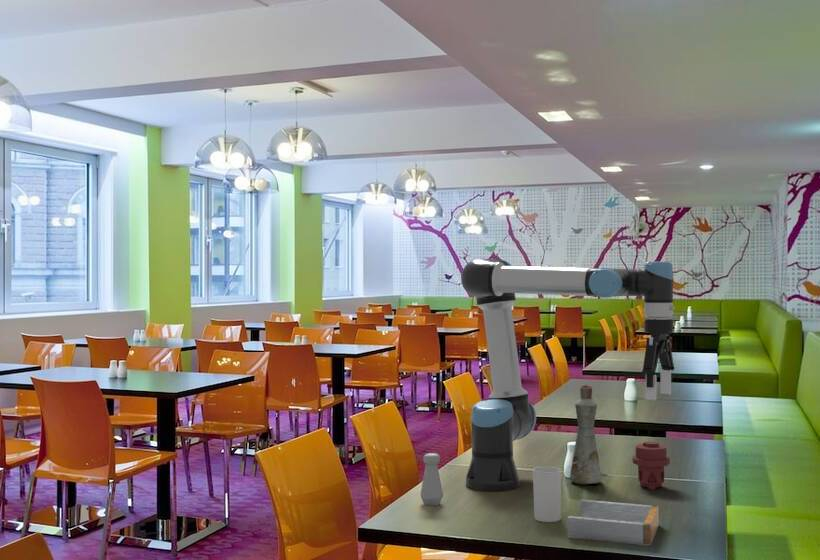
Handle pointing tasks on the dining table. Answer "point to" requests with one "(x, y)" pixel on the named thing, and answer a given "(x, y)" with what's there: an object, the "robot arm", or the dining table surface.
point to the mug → (547, 494)
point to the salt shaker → (431, 481)
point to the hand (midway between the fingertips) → (658, 396)
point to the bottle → (585, 441)
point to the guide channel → (615, 522)
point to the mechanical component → (651, 464)
